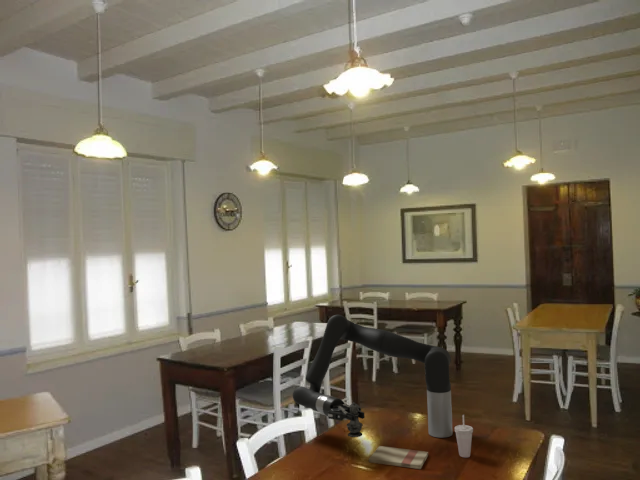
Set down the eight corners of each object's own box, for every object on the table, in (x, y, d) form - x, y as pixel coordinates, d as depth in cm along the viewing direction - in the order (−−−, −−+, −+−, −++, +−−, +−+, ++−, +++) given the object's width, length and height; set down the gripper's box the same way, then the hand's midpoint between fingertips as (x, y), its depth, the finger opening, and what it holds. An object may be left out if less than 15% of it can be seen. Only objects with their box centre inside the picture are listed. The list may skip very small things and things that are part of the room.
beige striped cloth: (379, 449, 198) (379, 445, 198) (428, 455, 191) (428, 451, 191) (369, 462, 187) (368, 458, 187) (420, 469, 180) (420, 465, 180)
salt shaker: (362, 437, 191) (360, 404, 191) (345, 437, 192) (344, 403, 192) (364, 431, 197) (362, 399, 197) (348, 431, 198) (346, 398, 198)
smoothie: (474, 452, 192) (473, 413, 192) (473, 459, 186) (472, 419, 186) (456, 450, 194) (454, 412, 194) (454, 458, 188) (453, 417, 188)
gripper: (314, 400, 202) (343, 411, 188) (343, 392, 210) (373, 402, 196) (315, 420, 202) (344, 432, 188) (344, 411, 210) (374, 422, 197)
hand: (359, 417), depth 192 cm, fingers closed on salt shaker, 3 cm apart
